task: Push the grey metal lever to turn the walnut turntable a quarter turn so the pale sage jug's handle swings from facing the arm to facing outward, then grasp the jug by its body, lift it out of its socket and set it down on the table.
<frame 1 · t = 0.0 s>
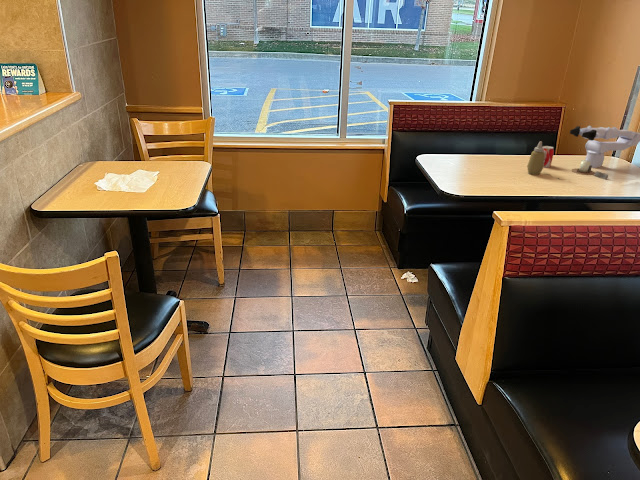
hand: (576, 133, 253), 22 cm above the table, tool horizontal, fingers open, 7 cm apart
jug: (583, 171, 259), point 1 cm above the table, touching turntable
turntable: (590, 171, 256), point 2 cm above the table, hinge at 90.0°, touching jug
squeeze bottle: (533, 173, 259), on the table
soda can: (543, 168, 270), on the table
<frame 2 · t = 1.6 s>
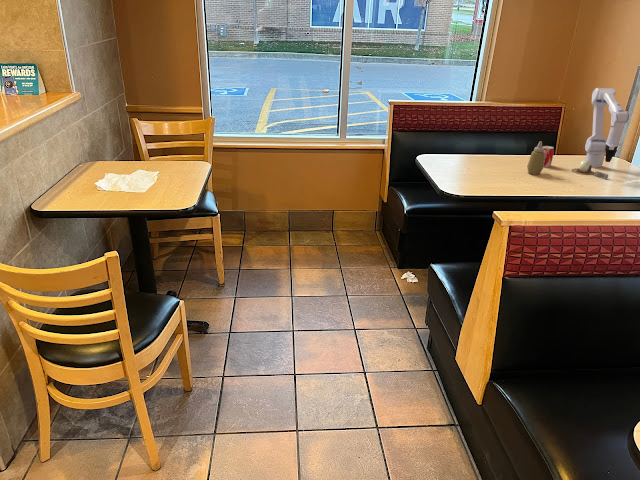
hand: (607, 160, 251), 9 cm above the table, tool pointing down, fingers open, 7 cm apart
nothing on the table moved.
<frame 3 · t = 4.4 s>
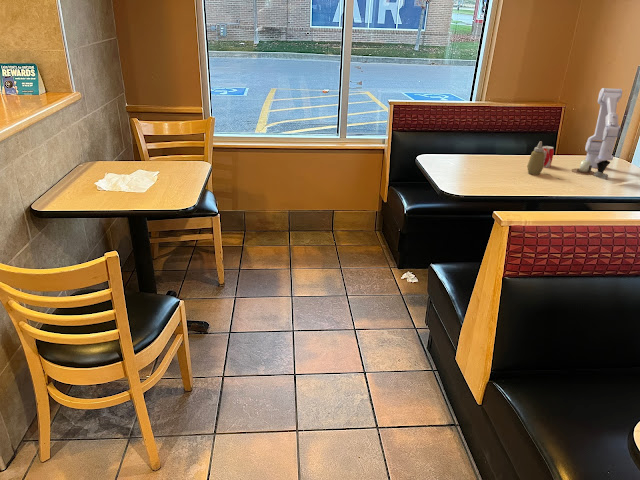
hand: (599, 173, 252), 2 cm above the table, tool pointing down, fingers closed, pressing on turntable
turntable: (590, 171, 256), point 2 cm above the table, hinge at 89.3°, touching gripper, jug
everything else where it was.
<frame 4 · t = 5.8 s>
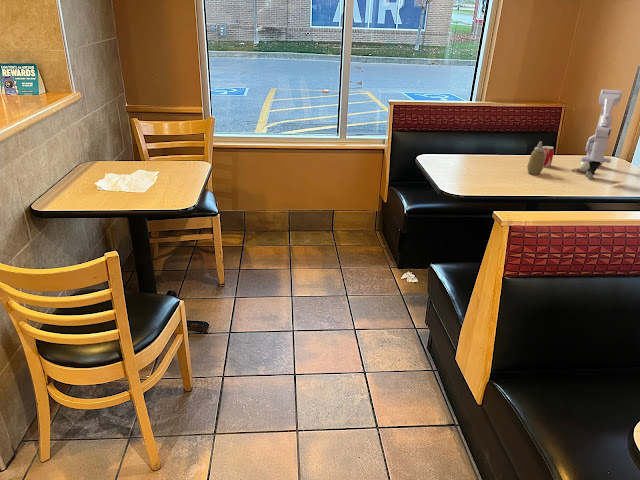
hand: (591, 175, 250), 2 cm above the table, tool pointing down, fingers closed, pressing on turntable
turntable: (585, 171, 255), point 2 cm above the table, hinge at 53.0°, touching gripper, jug
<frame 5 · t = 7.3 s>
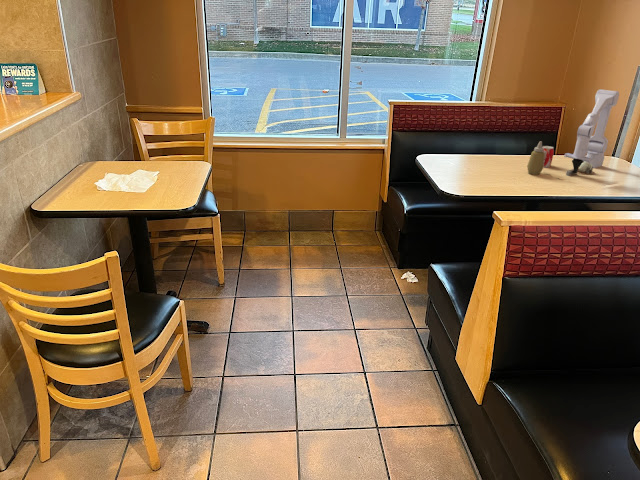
hand: (574, 172, 253), 2 cm above the table, tool pointing down, fingers closed, pressing on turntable
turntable: (579, 170, 257), point 2 cm above the table, hinge at 5.1°, touching gripper, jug
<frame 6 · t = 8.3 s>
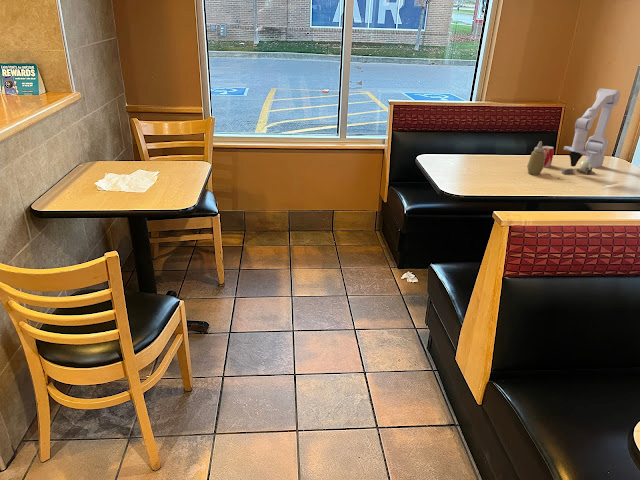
hand: (573, 166, 253), 6 cm above the table, tool pointing down, fingers closed
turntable: (577, 170, 258), point 2 cm above the table, hinge at -7.6°, touching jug
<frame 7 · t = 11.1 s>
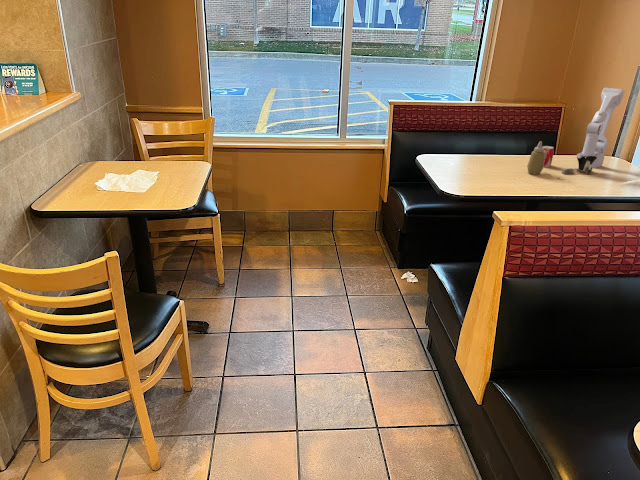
hand: (583, 169, 259), 3 cm above the table, tool pointing down, fingers closed on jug, 4 cm apart
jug: (583, 171, 259), point 1 cm above the table, touching gripper, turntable
everything else where it was.
when the fingers open (3 cm above the table, at t = 15.2 s): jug drops 1 cm, on the table.
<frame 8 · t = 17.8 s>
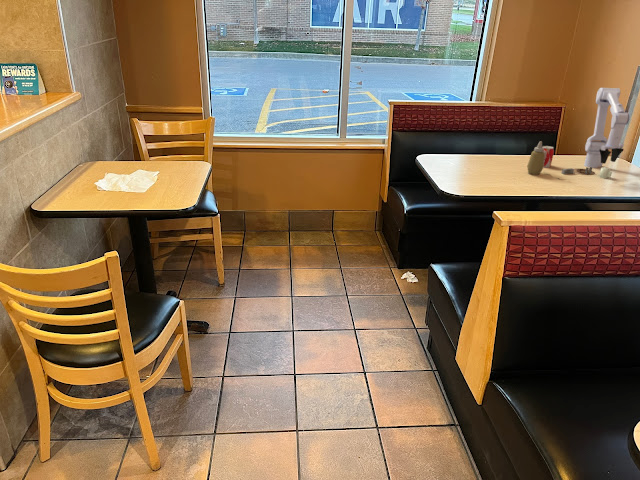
hand: (607, 162, 248), 9 cm above the table, tool pointing down, fingers open, 7 cm apart
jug: (602, 179, 252), on the table
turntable: (577, 170, 258), point 2 cm above the table, hinge at -7.6°
everything else where it was.
at the end: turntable at -8° (first picture: +90°); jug inside the target area (0.1 cm from its centre), on the table; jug tilted 0° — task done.
